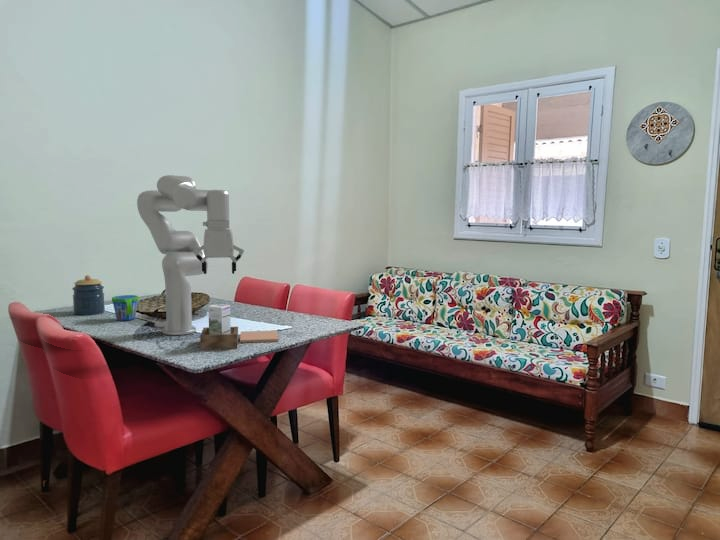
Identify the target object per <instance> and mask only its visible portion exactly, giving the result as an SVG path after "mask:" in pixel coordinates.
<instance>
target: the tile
mask: <svg viewBox="0 0 720 540" xmlns="http://www.w3.org/2000/svg"><path fill="white" fill-rule="evenodd" d="M241 342H242V343H241ZM245 342H253V343H273V342H274V343H275V342H279V334H278V330H275V329H273V330H246V331H243V330H242V331H240V337H239V343H240V344H246V343H245Z"/></svg>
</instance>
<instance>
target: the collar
mask: <svg viewBox="0 0 720 540" xmlns="http://www.w3.org/2000/svg"><path fill="white" fill-rule="evenodd" d="M230 329H231V334H209V326H208V327H203V329H202V331H201V332H200V335H199V337H200V340H199V342H200V344H199V345H200V346H199V347H200V350H224V349H226V350H227V349H238V346H239V345H238V344H239V326H230Z"/></svg>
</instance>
